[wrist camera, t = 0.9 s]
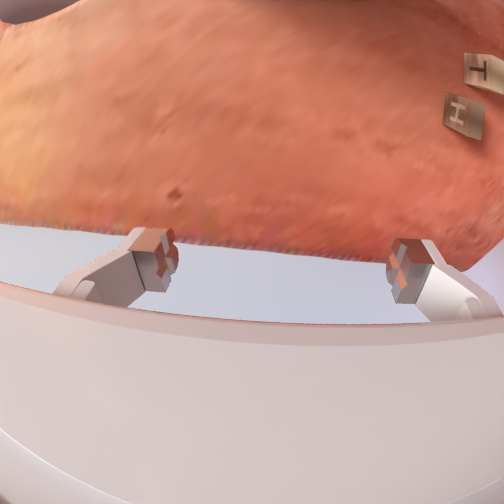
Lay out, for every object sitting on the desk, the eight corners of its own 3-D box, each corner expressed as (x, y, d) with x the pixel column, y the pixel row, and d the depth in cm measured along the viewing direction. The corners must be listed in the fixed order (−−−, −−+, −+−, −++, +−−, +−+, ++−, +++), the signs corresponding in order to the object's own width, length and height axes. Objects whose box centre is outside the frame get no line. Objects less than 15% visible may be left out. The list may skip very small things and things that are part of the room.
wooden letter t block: (463, 52, 27) (491, 54, 20) (476, 58, 27) (504, 61, 20) (463, 82, 31) (491, 89, 24) (475, 87, 30) (503, 94, 23)
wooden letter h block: (445, 92, 33) (472, 99, 26) (458, 96, 32) (485, 104, 26) (442, 124, 36) (467, 136, 30) (455, 127, 36) (481, 140, 29)
